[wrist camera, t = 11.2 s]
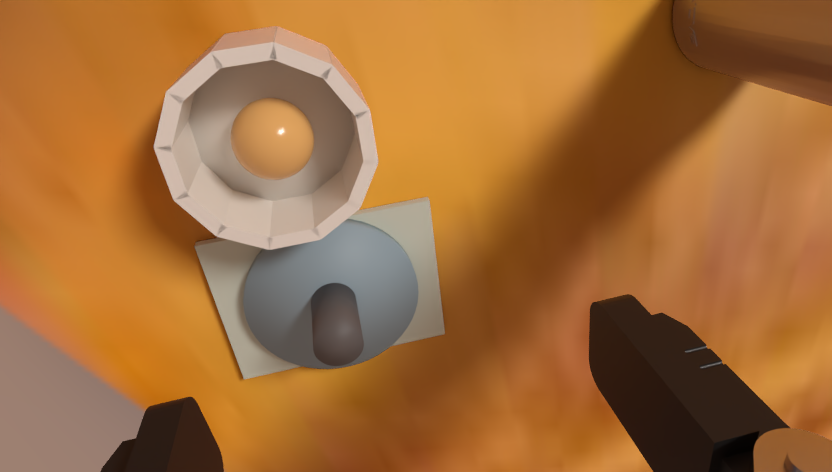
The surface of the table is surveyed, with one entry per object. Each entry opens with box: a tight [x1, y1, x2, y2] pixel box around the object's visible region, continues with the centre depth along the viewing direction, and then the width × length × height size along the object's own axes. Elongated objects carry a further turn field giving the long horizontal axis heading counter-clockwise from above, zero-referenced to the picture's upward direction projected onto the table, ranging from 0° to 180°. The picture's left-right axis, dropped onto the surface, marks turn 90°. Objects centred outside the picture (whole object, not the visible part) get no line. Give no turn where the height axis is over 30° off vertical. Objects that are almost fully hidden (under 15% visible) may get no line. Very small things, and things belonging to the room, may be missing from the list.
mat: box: [194, 197, 445, 379], centre depth 40 cm, size 16×12×1 cm
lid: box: [243, 219, 419, 369], centre depth 37 cm, size 12×12×6 cm
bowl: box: [154, 26, 378, 250], centre depth 31 cm, size 11×11×6 cm
